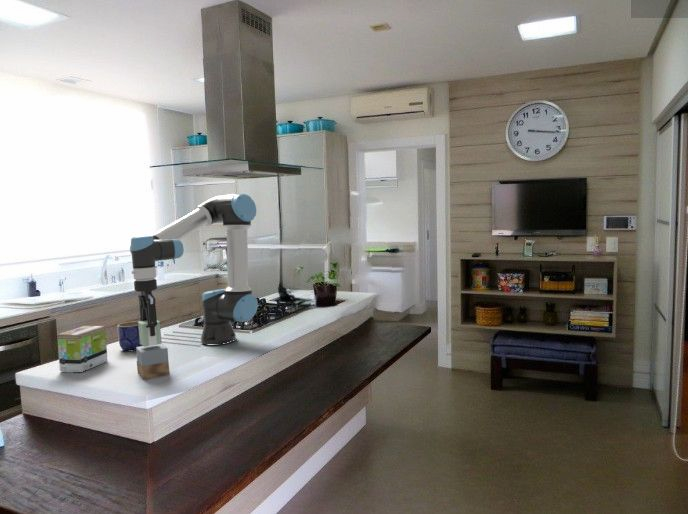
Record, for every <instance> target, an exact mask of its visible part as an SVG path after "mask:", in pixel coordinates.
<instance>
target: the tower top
mask: <svg viewBox="0 0 688 514" xmlns="http://www.w3.org/2000/svg"><path fill="white" fill-rule="evenodd" d="M135 351H136V362H137V361H138V362H139V363H140V365H141V366H148V365H153V364H158V363H163V362H169V348H168V347H167V346H166V345H165V344H164V343H162V344H157V345H152V346H146V347H144V346H141V347H136V350H135ZM169 363H170V362H169Z"/></svg>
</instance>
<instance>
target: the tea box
mask: <svg viewBox="0 0 688 514" xmlns="http://www.w3.org/2000/svg"><path fill="white" fill-rule="evenodd" d="M107 347H108V346H107V333H106V326H104V325H82V326H80V327H77V328H73V329H70V330H67V331H64V332H60V333H57V348H58V349H57V350H58V361H59V372H60V371H62V372H61V373H73V372H82V373H83V371H84V372H85V370H86V371H88V370H90V369H93V368H94V367H97V366H100V365H102V364H104V362H105V363H107V362H108V348H107ZM106 361H107V362H106Z"/></svg>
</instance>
